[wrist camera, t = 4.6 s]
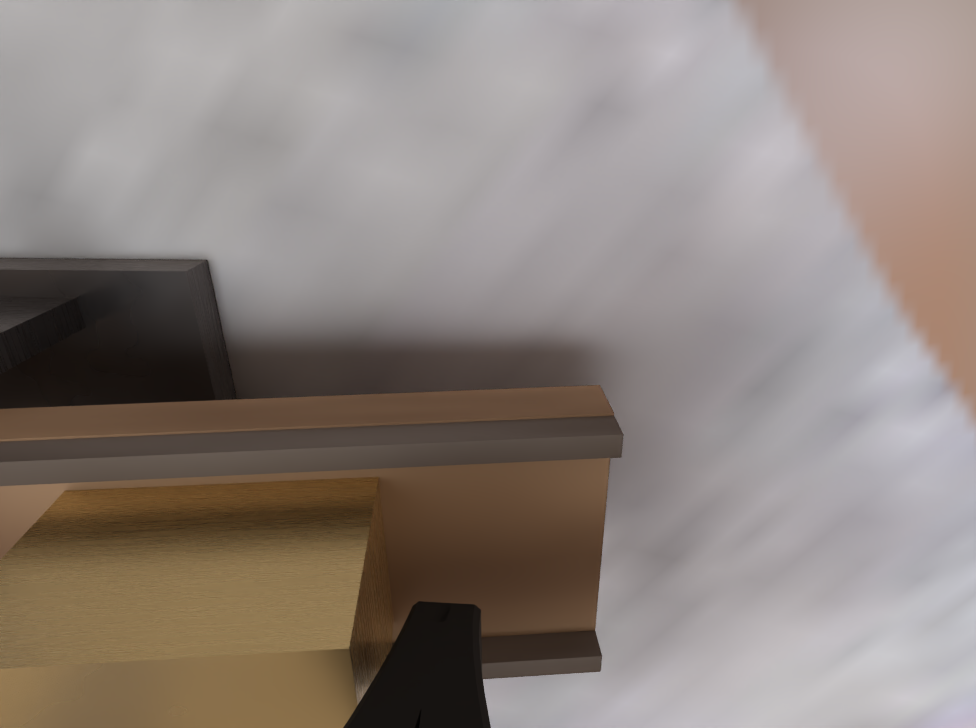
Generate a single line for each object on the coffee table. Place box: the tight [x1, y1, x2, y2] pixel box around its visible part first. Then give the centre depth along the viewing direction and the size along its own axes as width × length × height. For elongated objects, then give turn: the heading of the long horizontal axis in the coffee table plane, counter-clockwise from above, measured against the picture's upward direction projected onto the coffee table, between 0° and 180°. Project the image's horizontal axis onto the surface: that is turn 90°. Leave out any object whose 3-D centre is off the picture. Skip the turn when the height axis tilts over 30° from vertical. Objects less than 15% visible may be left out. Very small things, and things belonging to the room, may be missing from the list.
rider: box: [0, 477, 394, 728], centre depth 11 cm, size 4×6×4 cm, turn 91°
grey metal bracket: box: [0, 258, 237, 409], centre depth 15 cm, size 10×8×6 cm
